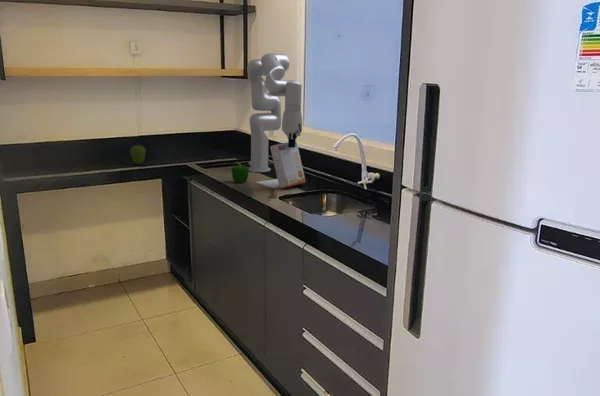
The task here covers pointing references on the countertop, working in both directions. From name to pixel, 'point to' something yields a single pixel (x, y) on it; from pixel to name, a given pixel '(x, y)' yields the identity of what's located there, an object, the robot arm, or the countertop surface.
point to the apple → (138, 154)
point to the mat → (270, 183)
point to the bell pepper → (240, 173)
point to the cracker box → (287, 165)
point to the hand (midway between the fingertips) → (291, 147)
